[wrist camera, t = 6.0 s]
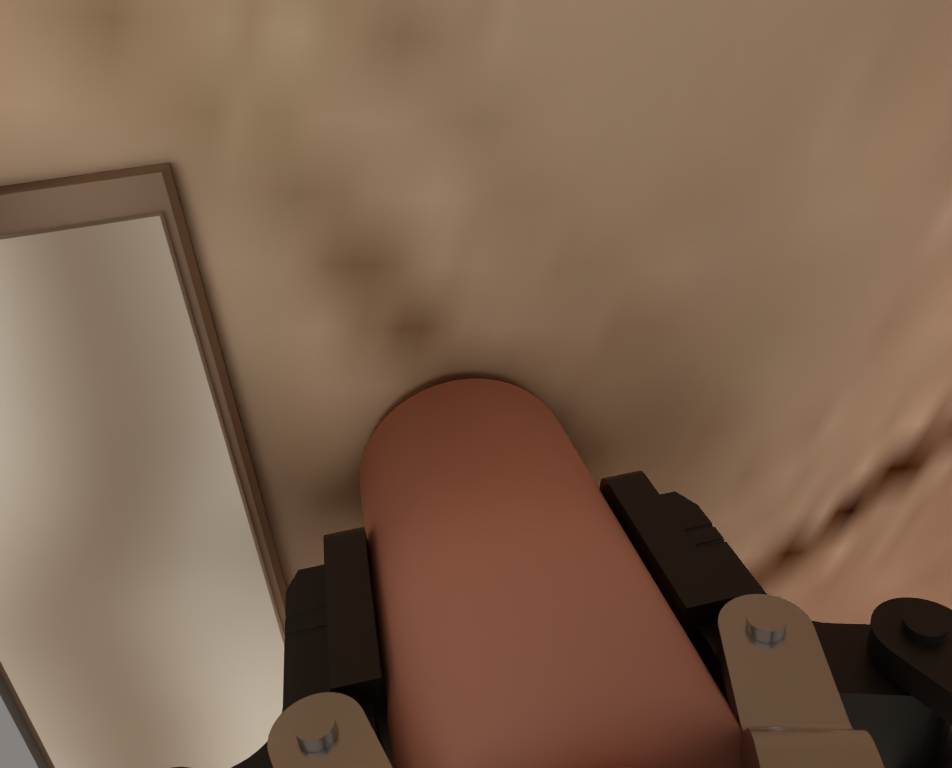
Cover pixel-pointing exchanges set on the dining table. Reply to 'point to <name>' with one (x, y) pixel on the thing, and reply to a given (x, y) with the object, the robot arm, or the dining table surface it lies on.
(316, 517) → the dining table surface
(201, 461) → the board
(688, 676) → the pawn
